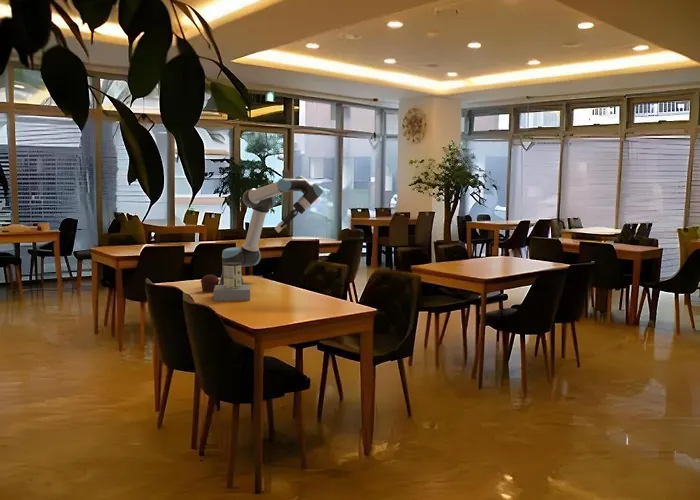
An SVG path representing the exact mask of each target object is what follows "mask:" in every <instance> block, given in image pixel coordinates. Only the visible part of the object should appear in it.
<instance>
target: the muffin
mask: <svg viewBox="0 0 700 500" xmlns="http://www.w3.org/2000/svg"><path fill="white" fill-rule="evenodd" d="M200 284H201V289H202V293H214V288H215V285H219V284H220V278H219V277H218V276H216V275H215V274H206V275H204V276H203V277H202V278H201V280H200Z"/></svg>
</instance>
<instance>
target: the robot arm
mask: <svg viewBox="0 0 700 500" xmlns="http://www.w3.org/2000/svg"><path fill="white" fill-rule="evenodd" d="M288 192H301V193H302V195H301V197H299V198H298V199H297V201H296V202H294V203H293V204H292V207H293V208H294V209H292V210H291V211H289V213H288V214H287V215H286V216H285V217H284V218H282V220H281V221H280V222H279V223H278V224H277V225H276V226H275V227H274V230H275V231H276V232H277V233H278V234H279V233H280V232H281V231H282V230H283V229H284V228H285V227H286V226H287V225H289V223H290V222H291V221H293V219H295V218H296V216H298V214H300V215H303V214H304V213H305V211H306V210H307V209H309V208H311V206H312V204H313V203H315V202H316V200H317V199H318V200H319V198H320V196H321V195H323V193H324V190H323V189H322V188H321V187H320V185H319V184H317V183H314V184H312V183H311V182H310V181H309V180H308V179H307V178H305V177H304V176H303V175H298V176H296V177H295V178H286V177H285V178H280V179H278V181H276V182H273V183H270V184H268V185H264V186H261V187H259V188H250V189H247V190H245V192H244V193H243V195H242V202H243V204H244V205H245V206H246V207H248V208H251V209H252V213H251V217H250V221H249V225H248V230H247V233H246V237H245V242H244V243H242V244H241V248H240V247H238V246H237V247H228V248H225V249H223V250H222V253H221V258H222V259H221V260H222V261H221V264H222V266H221V267H222V270H221V271H222V273H221V276H220V278H219V285H224V266H223V263H225V262H241V263H242V264H241V268H243V267H244V268H245V267H253V266H256V265H258V264H259V262H260V261H261V258H262V254H261V251H260V248H259V246H258V245H259V243H260V238H261V235H262V231H263V226H264V223H265V219H266V214H268V213H269V212H270V209H271V208H273V207H274V206H275V205H276V196H278V195H281V194H285V193H288ZM241 284H242V285H244V279H243V276H242V274H241Z"/></svg>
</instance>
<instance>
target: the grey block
mask: <svg viewBox="0 0 700 500" xmlns="http://www.w3.org/2000/svg"><path fill="white" fill-rule="evenodd" d="M241 286H242V287H241V288H233V289H229V288H224V285H221V284H218V285H215V288H214V292H213V302H229V301H230V302H232V301H235V302H236V301H241V302H242V301H244V302H245V301H251V284H242V285H241ZM223 300H224V301H223Z"/></svg>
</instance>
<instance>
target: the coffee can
mask: <svg viewBox="0 0 700 500" xmlns="http://www.w3.org/2000/svg"><path fill="white" fill-rule="evenodd" d="M241 264H242V263H241V262H225V263H223V266H224V288H229V289H233V288H241V287H242V286H241V285H243V284H241V275H242V267H241Z"/></svg>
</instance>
